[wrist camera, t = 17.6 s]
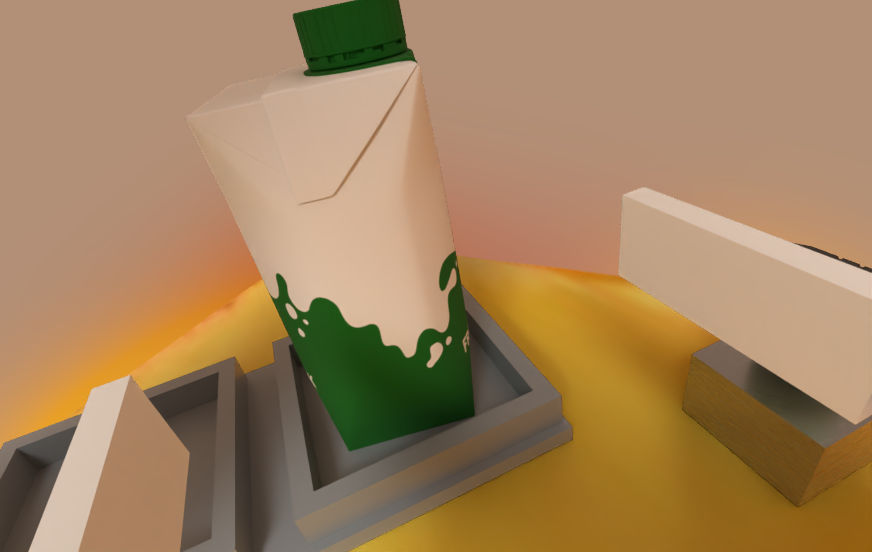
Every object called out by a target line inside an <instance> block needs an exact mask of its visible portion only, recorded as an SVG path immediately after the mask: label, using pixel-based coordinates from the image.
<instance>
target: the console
mask: <svg viewBox="0 0 872 552" xmlns="http://www.w3.org/2000/svg"><path fill="white" fill-rule="evenodd" d="M682 410H684V411H685V412H686V413H687V414H688V415H690V416H691V417H692V418H693V419H694V420H696V421H697V422H698V423H699V424H700V425H701V426H703V427H704V428H705V429H706V430H707V431H709V432H710V433H711V434H712V435H713V436H714V437H716V438H717V439H718V440H719V441H720V442H722V443H723V444H724V445H725V446H726V447H727V448H729V449H730V450H731V451H732V452H733V453H735V454H736V455H737V456H738V457H739V458H740V459H742V460H743V461H744V462H745V463H746V464H748V465H749V466H750V467H751V468H752V469H753V470H755V471H756V472H757V473H758V474H759V475H761V476H762V477H763V478H764V479H765V480H767V481H768V482H769V483H770V484H771V485H772V486H774V487H775V488H776V489H777V490H778V491H780V492H781V493H782V494H783V495H784V496H785V497H787V498H788V499H789V500H790V501H791V502H793V503H794V504H795V505H796V506H797V507H799V506H800V505H802V504H804V503H805V502H807V501H808V500H810V499H812V498H813V497H815V496H816V495H818V494H820V493H821V492H823V491H824V490H826V489H828V488H829V487H831V486H832V485H834V484H836V483H837V482H839V481H840V480H842V479H844V478H845V477H847V476H848V475H850V474H852V473H853V472H855V471H856V470H858V469H860V468H861V467H863V466H864V465H866V464H867V463H869V462H871V461H872V415H871V416H869V417H868V418H866V419H864V420H863V421H861V422H859V423H858V424H856V425H855V424H853V423H852V422H850V421H849V420H847V419H845V418H844V417H842V416H841V415H839V414H838V413H836V412H834V411H833V410H831V409H830V408H828V407H827V406H825V405H823V404H822V403H820V402H819V401H817V400H815V399H814V398H812V397H811V396H809V395H808V394H806V393H804V392H803V391H801V390H800V389H798V388H796V387H795V386H793V385H792V384H790V383H789V382H787V381H785V380H784V379H782V378H781V377H779V376H777V375H776V374H774V373H773V372H771V371H770V370H768V369H766V368H765V367H763V366H762V365H760V364H758V363H757V362H755V361H754V360H752V359H751V358H749V357H747V356H746V355H744V354H743V353H741V352H739V351H738V350H736V349H735V348H733V347H732V346H730V345H728V344H727V343H725V342H724V341H722V340H720V341H718V342H716V343H714V344H712V345H710V346H708V347H706V348H704V349H702V350H699V351H697V352H695V353H693V354H692V357H691V362H690V368H689V373H688V379H687V385H686V390H685V396H684V401H683V407H682Z"/></svg>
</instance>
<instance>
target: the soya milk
mask: <svg viewBox="0 0 872 552" xmlns="http://www.w3.org/2000/svg"><path fill="white" fill-rule="evenodd" d="M293 19H294V23H295V26H296V29H297V33H298V36H299V40H300V43H301V46H302V49H303V53H304V57H305V58H306V62H307V64H304V65H299V66H294V67H289V68H286V69H283V70H282V71H280V72H279V73H277V74H276V75H272V76H267V77H263V78H258V79H253V80H249V81H245V82H240V83H236V84H232V85H229V86H228V87H226V88H225V89H224V90H222V91H221V92H219V93H218V94H217V95H215V96H214V97H212V98H211V99H210V100H208V101H207V102H206V103H204V104H203V105H201V106H200V107H199V108H197V109H196V110H195V111H193V112H192V113H190V114H189V115H188V116H186V117H185V119H186V121H187V123H188V125H189V127H190V129H191V131H192V133H193V135H194V137H195V139H196V141H197V143H198V144H199V147H200V148H201V151H202V153H203V155H204V156H205V159H206V161H207V163H208V164H209V167H210V169H211V170H212V173H213V175H214V177H215V178H216V181H217V183H218V185H219V187H220V189H221V191H222V193H223V195H224V197H225V199H226V201H227V203H228V205H229V207H230V209H231V212H232V214H233V216H234V218H235V220H236V222H237V225H238V227H239V229H240V231H241V233H242V235H243V238H244V240H245V242H246V244H247V246H248V248H249V250H250V253H251V255H252V257H253V259H254V261H255V263H256V265H257V268H258V270H259V272H260V274H261V276H262V279H263V281H264V283H265V285H266V287H267V289H268V291H269V294H270V296H271V298H272V300H273V302H274V304H275V307H276V309H277V311H278V313H279V315H280V317H281V319H282V322H283V324H284V326H285V328H286V330H287V332H288V334H289V337H290V339H291V341H292V343H293V345H294V347H295V350H296V352H297V354H298V356H299V358H300V360H301V362H302V364H303V366H304V368H305V370H306V372H307V374H308V376H309V378H310V380H311V382H312V384H313V386H314V387H315V389H316V391H317V393H318V395H319V397H320V399H321V400H322V402H323V404H324V406H325V408H326V410H327V411H328V413H329V415H330V417H331V419H332V421H333V422H334V424H335V426H336V428H337V430H338V432H339V433H340V435H341V437H342V439H343V441H344V443H345V445H346V446H347V448H348V450H349V451H353V450H357V449H360V448H364V447H367V446H371V445H374V444H378V443H381V442H385V441H388V440H392V439H395V438H399V437H402V436H406V435H410V434H413V433H417V432H420V431H424V430H427V429H431V428H434V427H438V426H441V425H445V424H448V423H452V422H455V421H459V420H462V419H466V418H469V417H473V416H475V409H474V396H473V383H472V370H471V356H470V343H469V330H468V322H467V315H466V309H465V303H464V297H463V291H462V286H461V280H460V274H459V269H458V263H457V257H456V252H455V246H454V240H453V235H452V229H451V223H450V218H449V213H448V207H447V201H446V195H445V190H444V185H443V180H442V174H441V169H440V164H439V158H438V153H437V149H436V144H435V139H434V134H433V129H432V125H431V120H430V115H429V110H428V105H427V100H426V95H425V91H424V85H423V80H422V75H421V69H420V67H419V65H417V61H416V60H415V57H414V54H413V51H412V50H411V49H408V48H407V44H406V38H405V36H406V34H405V30H404V25H403V20H402V15H401V9H400V4H399V0H354V1H350V2H345V3H340V4H335V5H331V6H326V7H322V8H317V9H312V10H307V11H303V12H299V13H294V14H293Z"/></svg>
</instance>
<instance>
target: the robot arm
mask: <svg viewBox="0 0 872 552" xmlns="http://www.w3.org/2000/svg"><path fill="white" fill-rule="evenodd" d="M618 275H619V276H621V277H622V278H624V279H626V280H627V281H629V282H630V283H632V284H633V285H635V286H637V287H638V288H640V289H641V290H643V291H645V292H646V293H648V294H649V295H651V296H652V297H654V298H656V299H657V300H659V301H660V302H662V303H664V304H665V305H667V306H668V307H670V308H671V309H673V310H675V311H676V312H678V313H679V314H681V315H683V316H684V317H686V318H687V319H689V320H690V321H692V322H694V323H695V324H697V325H698V326H700V327H702V328H703V329H705V330H706V331H708V332H709V333H711V334H713V335H714V336H716V337H717V338H719V339H721V340H722V341H724V342H725V343H727V344H728V345H730V346H732V347H733V348H735V349H736V350H738V351H739V352H741V353H743V354H744V355H746V356H747V357H749V358H751V359H752V360H754V361H755V362H757V363H758V364H760V365H762V366H763V367H765V368H766V369H768V370H770V371H771V372H773V373H774V374H776V375H777V376H779V377H781V378H782V379H784V380H785V381H787V382H789V383H790V384H792V385H793V386H795V387H796V388H798V389H800V390H801V391H803V392H804V393H806V394H808V395H809V396H811V397H812V398H814V399H815V400H817V401H819V402H820V403H822V404H823V405H825V406H827V407H828V408H830V409H831V410H833V411H834V412H836V413H838V414H839V415H841V416H842V417H844V418H845V419H847V420H849V421H850V422H852V423H853V424H855V425H856V424H858V423H859V422H861V421H863V420H864V419H866V418H868V417H869V416H871V415H872V269H871V268H868V267H863V268H862V267H860V264H857V263H855V262H852V261H849V260H847V259H844V258H843V259H839V258H838V256H836V255H833V254H830V253H828V252H825V251H822V250H820V249H817V248H814V247H811V246H806V245H801V244H796V243H791V242H788V241H786V240H783V239H780V238H778V237H775V236H772V235H770V234H767V233H765V232H762V231H759V230H757V229H754V228H751V227H748V226H746V225H744V224H741V223H738V222H736V221H732V220H730V219H728V218H725V217H722V216H720V215H717V214H714V213H712V212H709V211H707V210H704V209H701V208H699V207H696V206H693V205H690V204H688V203H685V202H683V201H680V200H678V199H675V198H672V197H669V196H667V195H664V194H662V193H659V192H656V191H654V190H651V189H649V188H646V187H643V188H640V189H637V190H635V191H632V192H629V193H626V194H623V198H622V216H621V233H620V252H619V271H618ZM189 455H190V453H189V451H188V450H187V449H186V447H185V446H184V445H183V444H182V442H181V441H180V440H179V438H178V437H177V436H176V434H175V433H174V432H173V430H172V429H171V428H170V427H169V425H168V424H167V423H166V421H165V420H164V419H163V417H162V416H161V415H160V413H159V412H158V411H157V409H156V408H155V407H154V406H153V404H152V403H151V402H150V400H149V399H148V398H147V396H146V395H145V394H144V392H143V391H142V390H141V388H140V387H139V386H138V385H137V383H136V382H135V381H134V379H133V378H132V377H131V375H129V376H126V377H124V378H121V379H118V380H116V381H113V382H110V383H107V384H105V385H102V386H99V387H96V388H94V389H92V390H91V393H90V395H89V398H88V400H87V403H86V405H85V408H84V411H83V413H82V416H81V418H80V421H79V423H78V426H77V429H76V431H75V434H74V436H73V439H72V441H71V444H70V446H69V449H68V452H67V454H66V457H65V459H64V462H63V464H62V467H61V470H60V472H59V475H58V477H57V480H56V482H55V485H54V488H53V490H52V493H51V495H50V498H49V500H48V503H47V505H46V508H45V511H44V513H43V516H42V518H41V521H40V523H39V526H38V529H37V531H36V534H35V536H34V539H33V541H32V544H31V546H30V549H29V552H180V546H181V536H182V526H183V516H184V506H185V496H186V485H187V475H188V465H189Z"/></svg>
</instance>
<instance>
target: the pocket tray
mask: <svg viewBox="0 0 872 552" xmlns="http://www.w3.org/2000/svg"><path fill="white" fill-rule="evenodd" d="M461 286H462V291H463V297H464V303H465V309H466V315H467V322H468V330H469V343H470V356H471V370H472V383H473V396H474V409H475V416H473V417H469V418H466V419H462V420H459V421H455V422H452V423H448V424H445V425H441V426H438V427H434V428H431V429H427V430H424V431H420V432H417V433H413V434H410V435H406V436H402V437H399V438H395V439H392V440H388V441H385V442H381V443H378V444H374V445H371V446H367V447H364V448H360V449H357V450H353V451H349V450H348V448H347V446H346V445H345V443H344V441H343V439H342V437H341V435H340V433H339V432H338V430H337V428H336V426H335V424H334V422H333V421H332V419H331V417H330V415H329V413H328V411H327V410H326V408H325V406H324V404H323V402H322V400H321V399H320V397H319V395H318V393H317V391H316V389H315V387H314V386H313V384H312V382H311V380H310V378H309V376H308V374H307V372H306V370H305V368H304V366H303V364H302V362H301V360H300V358H299V356H298V354H297V352H296V350H295V347H294V345H293V343H292V341H291V339H290V337H289V336H288V337H286V338H283V339H280V340H278V341H275V342H272V344H273V352H274V360H275V363H272V364H269V365H267V366H264V367H262V368H259V369H256V370H254V371H251V372H249V373H246V374H244V372H243V370H242V368H241V367H240V365H239V363H238V361H237V360H236V358H235V357H232V358H229V359H227V360H224V361H221V362H219V363H216V364H213V365H211V366H208V367H205V368H203V369H200V370H197V371H195V372H192V373H189V374H187V375H184V376H181V377H179V378H176V379H173V380H171V381H168V382H165V383H163V384H160V385H157V386H155V387H152V388H149V389H147V390H144V391H143V392H144V394H145V395H146V396H147V398H148V399H149V400H150V402H151V403H152V404H153V406H154V407H155V408H156V409H157V411H158V412H159V413H160V415H161V416H162V417H163V419H164V420H165V421H166V423H167V424H168V425H169V427H170V428H171V429H172V430H173V432H174V433H175V434H176V436H177V437H178V438H179V440H180V441H181V442H182V444H183V445H184V446H185V447H186V449H187V450H188V451H189V453H190V455H189V465H188V475H187V485H186V496H185V506H184V516H183V526H182V536H181V546H180V552H348V551H350V550H352V549H354V548H356V547H358V546H360V545H362V544H364V543H366V542H368V541H370V540H372V539H374V538H376V537H378V536H380V535H382V534H384V533H386V532H388V531H390V530H392V529H394V528H396V527H398V526H400V525H402V524H404V523H406V522H408V521H410V520H412V519H414V518H416V517H418V516H420V515H422V514H424V513H426V512H428V511H430V510H432V509H434V508H436V507H438V506H440V505H442V504H444V503H446V502H448V501H450V500H452V499H454V498H456V497H458V496H460V495H462V494H464V493H466V492H468V491H470V490H472V489H474V488H476V487H478V486H480V485H482V484H484V483H486V482H488V481H490V480H492V479H494V478H496V477H498V476H500V475H502V474H504V473H506V472H508V471H510V470H512V469H514V468H516V467H518V466H520V465H522V464H524V463H526V462H528V461H530V460H532V459H534V458H536V457H538V456H540V455H542V454H544V453H546V452H548V451H550V450H552V449H554V448H556V447H558V446H560V445H562V444H564V443H566V442H568V441H570V440H572V439H573V430H572V426H571V425H570V423H569V422H568V421H567V420H566V419H565V418H564V416H563V415H562V396H561V395H560V393H559V392H558V391H557V390H556V389H555V388H554V387H553V386H552V385H551V383H550V382H549V381H548V380H547V379H546V378H545V377H544V376H543V374H542V373H541V372H540V371H539V370H538V369H537V368H536V367H535V366H534V364H533V363H532V362H531V361H530V360H529V359H528V358H527V357H526V356H525V354H524V353H523V352H522V351H521V350H520V349H519V348H518V347H517V345H516V344H515V343H514V342H513V341H512V340H511V339H510V338H509V337H508V335H507V334H506V333H505V332H504V331H503V330H502V329H501V328H500V327H499V325H498V324H497V323H496V322H495V321H494V320H493V319H492V318H491V317H490V315H489V314H488V313H487V312H486V311H485V310H484V309H483V308H482V306H481V305H480V304H479V303H478V302H477V301H476V300H475V299H474V298H473V296H472V295H471V294H470V293H469V292H468V291H467V290H466V289H465V288H464V286H463V285H462V284H461ZM81 416H82V414H80V415H77V416H75V417H72V418H69V419H67V420H64V421H61V422H59V423H56V424H53V425H51V426H48V427H45V428H43V429H40V430H37V431H35V432H32V433H29V434H27V435H24V436H21V437H18V438H16V439H13V440H10V441H8V442H5V443H4V444H3V446H2V447H1V449H0V552H29V549H30V546H31V544H32V541H33V539H34V536H35V534H36V531H37V529H38V526H39V523H40V521H41V518H42V516H43V513H44V511H45V508H46V505H47V503H48V500H49V498H50V495H51V493H52V490H53V488H54V485H55V482H56V480H57V477H58V475H59V472H60V470H61V467H62V464H63V462H64V459H65V457H66V454H67V452H68V449H69V446H70V444H71V441H72V439H73V436H74V434H75V431H76V429H77V426H78V423H79V421H80V418H81Z"/></svg>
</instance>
